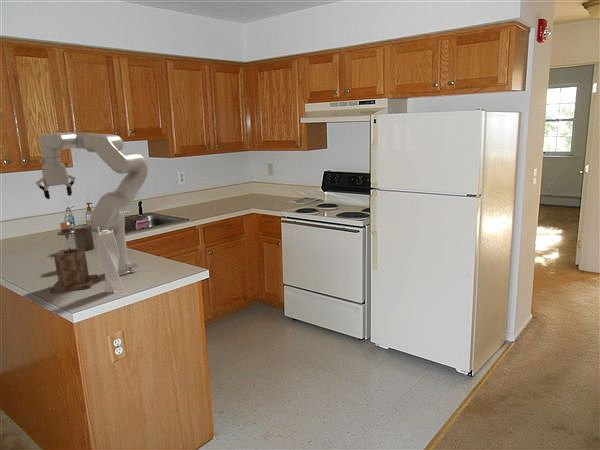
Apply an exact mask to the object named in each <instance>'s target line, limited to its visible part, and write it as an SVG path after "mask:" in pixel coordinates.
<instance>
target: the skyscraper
mask: <svg viewBox="0 0 600 450" xmlns="http://www.w3.org/2000/svg"><path fill="white" fill-rule="evenodd" d="M111 230H112V231H109V230H102V232H99V227H98V232H97V235H98V236H97V238H98V240H97V246H98V247H97V248H98V256H99V260H100V264H101V267H102V270H103V272H104V276H105V277H104V293H112V292H113V294H116V293H117V292H119V291H122V290H125V289H124V286H123V282H122V280H121V278H120V276H119V274H118V265H119V252H118V247H117V243H116V239H115V236H114V233H113V229H111Z"/></svg>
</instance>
